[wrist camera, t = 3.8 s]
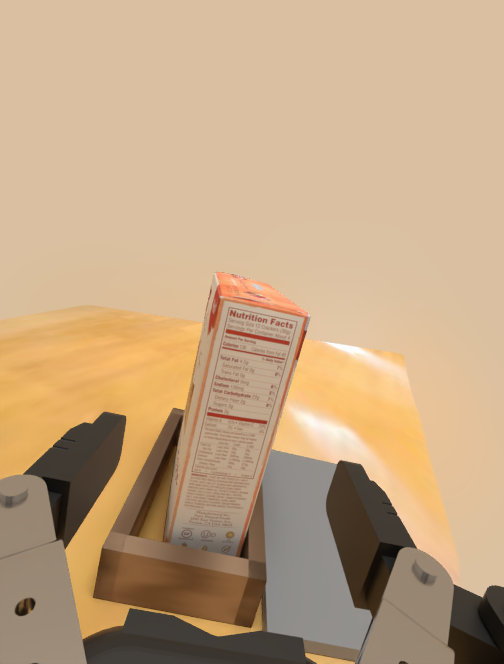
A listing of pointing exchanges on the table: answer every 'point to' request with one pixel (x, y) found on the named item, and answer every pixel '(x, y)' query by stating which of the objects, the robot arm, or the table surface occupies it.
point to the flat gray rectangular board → (306, 561)
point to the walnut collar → (179, 556)
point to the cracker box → (232, 412)
